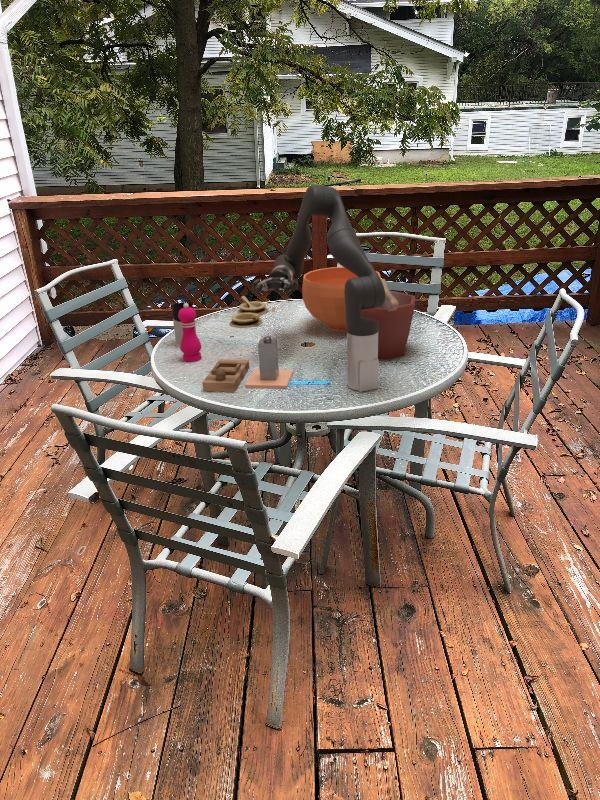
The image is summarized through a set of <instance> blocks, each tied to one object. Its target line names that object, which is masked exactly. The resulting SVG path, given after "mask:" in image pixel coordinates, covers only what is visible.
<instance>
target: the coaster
mask: <svg viewBox="0 0 600 800" xmlns="http://www.w3.org/2000/svg"><path fill="white" fill-rule="evenodd" d="M293 372H294V369H279V376H278V378H277V380H260V368H259V369H258V368H256V369H253V371H252V372H251V374H250V375H249V378H248V379H247V381H246V383H245V385H244V386H245V389H276V388H287V389H288V387H289V385H290V383H289V381H290V382H291V380H292V378H293V375H294V373H293ZM291 377H292V378H291ZM290 379H291V380H290ZM288 384H289V385H288ZM287 386H288V387H287Z"/></svg>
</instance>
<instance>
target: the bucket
mask: <svg viewBox="0 0 600 800" xmlns="http://www.w3.org/2000/svg"><path fill="white" fill-rule="evenodd" d="M381 281H382V283H383V286H384V289H385V302H384V303H383V305H382V306H380V307H376V308H371V309H363V310H360V313H361V316H363V317H367V318H371V319H374V320H376V321H377V322H378V360H379V359H383V360H382V361H389V360H392V359H397V357H398V358H401V357H404V356H405V353H406V349H407V346H408V345H407V344H408V340H409V335H410V331H411V326H412V322H413V319H414V318H413V317H414V313H415V312H414V311H415V304H416V295H414V294H408V293H403V292H398V291H395V290H390V289H389V288H388V287H389V286H388V284H387V282H386V279H385V278H381ZM388 359H389V360H388Z"/></svg>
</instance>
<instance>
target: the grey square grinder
mask: <svg viewBox="0 0 600 800" xmlns="http://www.w3.org/2000/svg"><path fill="white" fill-rule="evenodd" d="M257 350H258V352H257V353H258V364H259V365H258V366H259V369H260V380H277V378H278V376H279V370H280V368H279V367H280V366H279V364H280V363H279V352H278V350H279V349H278V338H272V336H270V335H267V336H266V335H265V336H263V337H262V338H260V340H259V341H258V342H257Z"/></svg>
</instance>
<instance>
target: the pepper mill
mask: <svg viewBox="0 0 600 800" xmlns="http://www.w3.org/2000/svg"><path fill="white" fill-rule="evenodd" d="M183 306H184V308H182V309H180V311H179V313H178V317H179V319H180V320H181V327H182V328H183V337H182V340H181V344H180V348H179V349H180V351H181V353H183V354H182V359H183V361H184V362H187V363H195V362H197V361H200V360H201V359H202V353H201V352H200V351H201V350H202V342H201V341H200V339H199V337H198V335H197V331H196V332H195V326H196V324H197V323H196V318H197V313H196V310H195V309H194V307H193V308H190V307H189V305H188V304H187V303H184V305H183ZM194 320H195V321H194ZM194 361H195V362H194Z"/></svg>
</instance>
